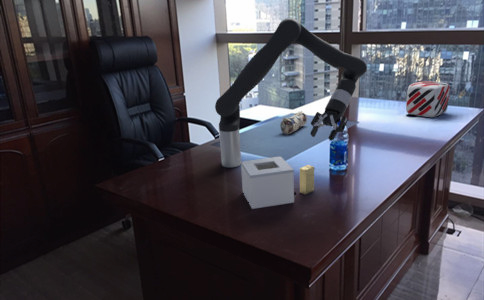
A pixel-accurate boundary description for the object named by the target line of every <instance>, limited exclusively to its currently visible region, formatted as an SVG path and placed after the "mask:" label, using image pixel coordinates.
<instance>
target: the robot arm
mask: <svg viewBox="0 0 484 300" xmlns="http://www.w3.org/2000/svg"><path fill="white" fill-rule="evenodd" d="M293 43H296V44H298V45H300V46H302V47H304V48H305V49H307V51H309V52H310V53H312V54H313V55H314V56H316V57H317V58H318V59H320V60H321V61H322V62H324V63H326V64H327V65H329V66H331V67H332V68H334V69H340V68H343V71H342V74H341V77H340V80H339V82H338V84H337V86H336V87H335V90H334V91H333V93H332V94H331V97H330V98H329V100H328V102H327V104H326V106H325V108H324V112H323V113H320V112H319V111H317V112H316V113H315V115H314V116H313V118H312V120H311V121H310V124H311V126H312V129H311V130H310V136H311V137H313V138H314V137H316V135H317V133H318V131H319V129H320V128H322V127H324V126H328V127H332V130H331V131H330V133H329V136H328V140H329V141H331V142H332V141H333V140H334V139H335V138H336V136H337V134H338V133H343V132H344V130H345V128H346V125H347V123H348V121H349V120H348V118H347V117H346V116H345V115H344V114H345V113H346V110H347V108H348V106H349V104H350V102H351V99H352V97H353V95H354V93H355V91H356V88H357V85H356V83H357V82H358V80H359V79H360V78H361V77H362V76H363V75H365V74H366V73H367V69H368V66H367V63H366V62H365V61H364V59H362V58H360V57H358V56H356V55H352V54H350V53H346V52H343V51H342V50H341V49H339V48H337V47H336V46H334V45H332V44H330V43H329V42H327V41H325V40H323V39H322V38H320V37H318V36H317V35H315V34H314V33H313V32H311V31H310V30H308V29H307V28H306V27H305V26H304V25H303V24H301V23H300V21H298V20H297V18H294V17H287V18H284V19H283V20H281V22H280V23H279V24H278V26H277V28H276V29H275V31H274V32H273V33H272V36H271V37H270V38H269V40H268V41H267V42H266V43H265V44H264V46H263V47H261V48H260V49H259V50H258V51H257V52H256V53H255V54H254V55H253V56H252V57H251V58H250V60H248V62H247V63H246V64H245V66H244V67H243V68H242V70H241V71H240V73H239V74H238V75H237V76H236V79H235V80H234V82H233V83H232V84H231V85H230V86H229V88H228V89H227V90H226V91H225V92H224V93H223V94H222V95H221V96H220V97H218V98H217V99H216V101H215V103H214V104H215V106H214V109H215V112H216V113H217V114H218V116H220V119H219V123H218V133H219V144H220V145H219V147H220V156H221V157H220V160H221V166H222V167H224V168H236V167H240V166H241V162H242V152H241V135H240V122H241V116H240V115H241V114H240V113H241V108H240V102H242V100H243V99H244V97H245V96H246V95H248V94H249V93H250V92H252V90H253V89H255V88H256V86H257V85H259V84H260V82H262V81H263V79H264V78H265V77H266V76H267V75H268V73H269V72H270V71H271V69H272V68H273V67H274V65H275V63H276V62H277V61H278V59H279V57H280V56H281V55H282V54H283V53H284V51H286V50H287V48H289V47H290V46H291V45H292V44H293ZM338 123H339V124H338Z"/></svg>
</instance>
